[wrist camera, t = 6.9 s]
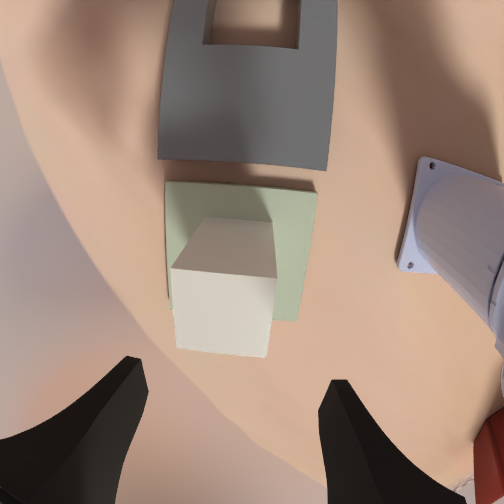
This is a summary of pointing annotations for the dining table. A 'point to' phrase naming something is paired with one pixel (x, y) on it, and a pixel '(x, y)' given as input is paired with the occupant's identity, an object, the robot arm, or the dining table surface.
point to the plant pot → (489, 460)
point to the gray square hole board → (248, 91)
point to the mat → (247, 208)
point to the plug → (225, 288)
